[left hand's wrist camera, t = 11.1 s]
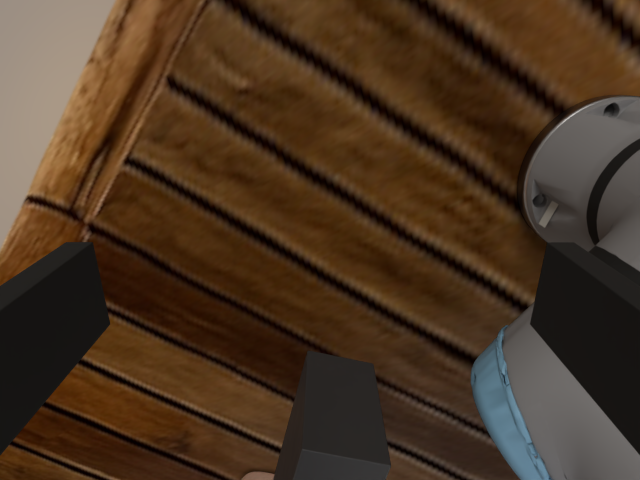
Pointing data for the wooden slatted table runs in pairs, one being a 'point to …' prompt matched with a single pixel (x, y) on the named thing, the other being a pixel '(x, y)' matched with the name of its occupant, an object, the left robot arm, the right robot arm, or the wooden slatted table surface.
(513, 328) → the left robot arm
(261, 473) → the anatomical model
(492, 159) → the wooden slatted table surface
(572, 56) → the wooden slatted table surface
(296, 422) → the bar
